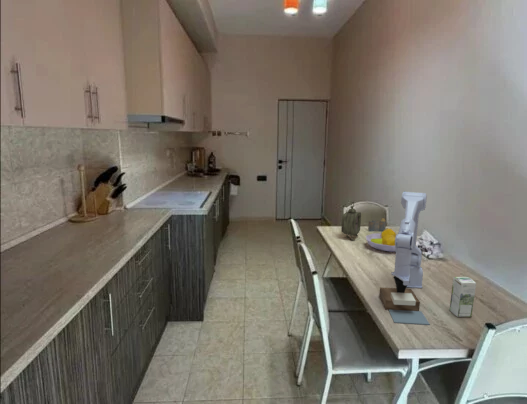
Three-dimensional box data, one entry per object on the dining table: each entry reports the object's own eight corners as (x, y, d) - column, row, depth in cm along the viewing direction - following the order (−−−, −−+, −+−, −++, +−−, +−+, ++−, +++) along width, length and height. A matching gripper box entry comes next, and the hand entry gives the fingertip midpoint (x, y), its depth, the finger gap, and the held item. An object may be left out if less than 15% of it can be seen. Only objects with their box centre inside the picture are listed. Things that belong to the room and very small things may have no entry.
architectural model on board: (383, 230, 255) (384, 217, 253) (385, 232, 252) (386, 218, 250) (368, 230, 255) (368, 217, 253) (369, 231, 252) (369, 218, 250)
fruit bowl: (356, 248, 216) (357, 230, 214) (380, 239, 234) (381, 222, 231) (399, 260, 195) (401, 240, 193) (421, 249, 213) (423, 231, 211)
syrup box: (463, 309, 140) (467, 275, 138) (472, 317, 135) (476, 282, 132) (449, 310, 140) (452, 276, 137) (457, 317, 134) (461, 282, 132)
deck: (410, 297, 151) (411, 288, 150) (419, 311, 139) (419, 302, 139) (379, 296, 153) (379, 287, 152) (385, 309, 141) (385, 300, 140)
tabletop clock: (354, 242, 227) (355, 204, 222) (340, 240, 232) (341, 203, 227) (359, 236, 240) (361, 200, 235) (346, 234, 244) (348, 199, 239)
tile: (410, 297, 142) (411, 293, 141) (415, 305, 136) (415, 300, 136) (390, 296, 143) (390, 292, 142) (393, 304, 137) (394, 299, 137)
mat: (421, 312, 139) (421, 311, 139) (429, 325, 129) (429, 324, 129) (388, 310, 140) (388, 309, 140) (394, 322, 131) (394, 321, 131)
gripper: (388, 256, 148) (386, 286, 151) (396, 269, 134) (394, 302, 137) (405, 257, 147) (403, 287, 150) (416, 270, 133) (413, 303, 136)
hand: (400, 294), depth 143 cm, fingers closed
